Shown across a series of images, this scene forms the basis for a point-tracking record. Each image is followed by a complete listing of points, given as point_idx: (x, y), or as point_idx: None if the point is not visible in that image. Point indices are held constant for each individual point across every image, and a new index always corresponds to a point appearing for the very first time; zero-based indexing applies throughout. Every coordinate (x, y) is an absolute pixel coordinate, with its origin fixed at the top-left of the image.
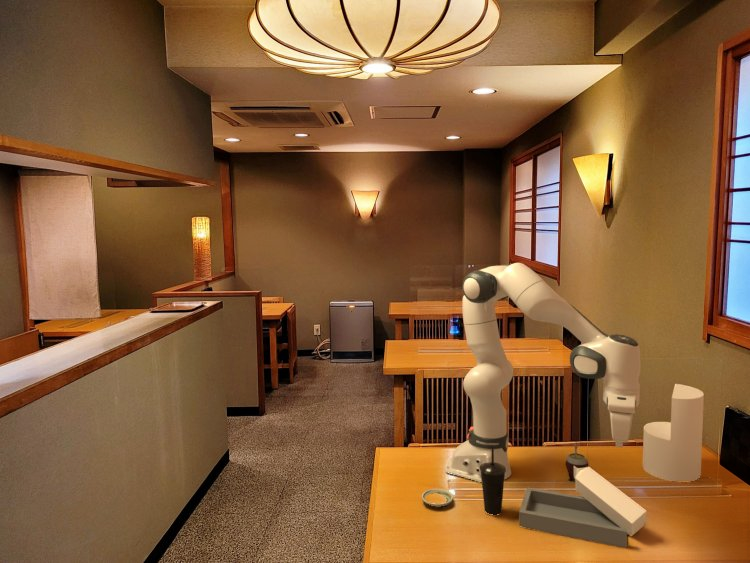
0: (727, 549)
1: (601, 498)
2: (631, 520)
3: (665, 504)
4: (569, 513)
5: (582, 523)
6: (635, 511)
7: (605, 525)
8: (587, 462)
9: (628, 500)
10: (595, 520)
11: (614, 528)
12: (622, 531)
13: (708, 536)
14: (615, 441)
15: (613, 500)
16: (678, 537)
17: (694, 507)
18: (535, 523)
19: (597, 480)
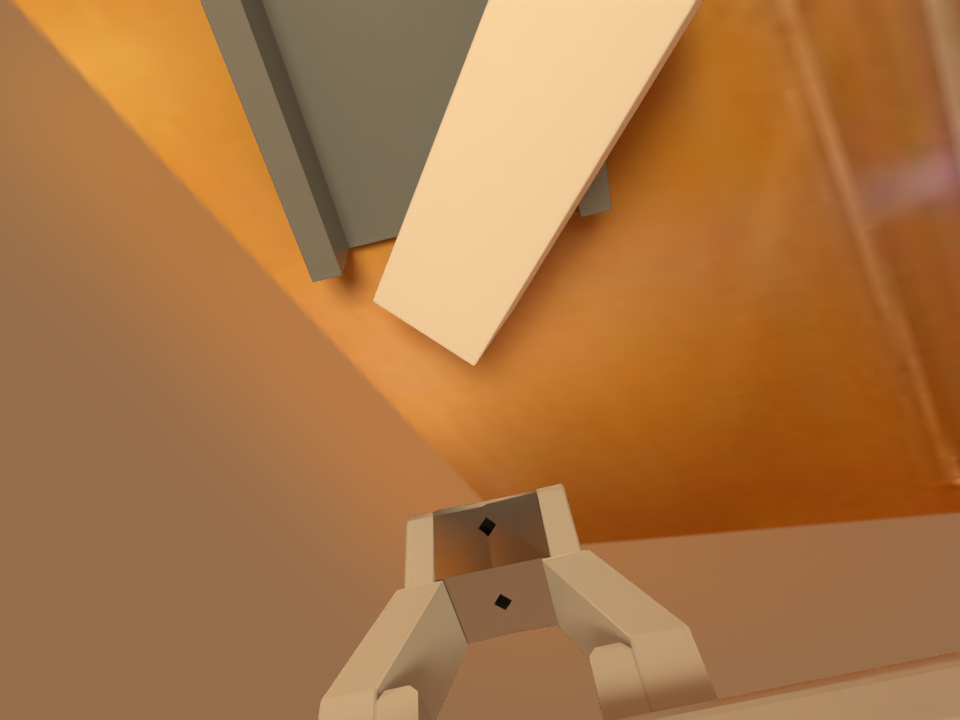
0: None
1: (441, 127)
2: (386, 299)
3: (807, 311)
4: None
5: (219, 41)
6: (445, 318)
7: (297, 173)
8: None
9: (498, 285)
10: (458, 57)
11: (300, 223)
12: (305, 261)
13: (603, 466)
14: (535, 496)
15: (461, 203)
16: (540, 394)
17: (817, 404)
18: None
19: (584, 68)
